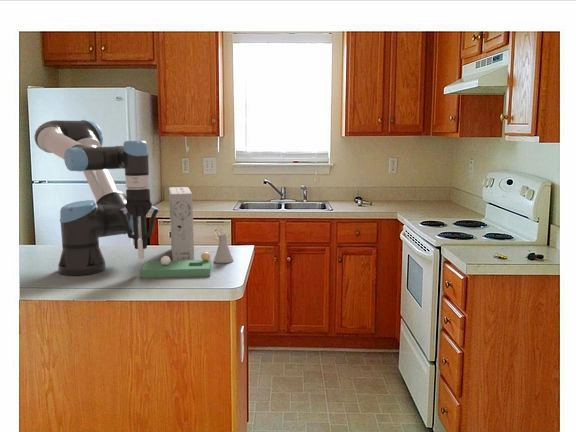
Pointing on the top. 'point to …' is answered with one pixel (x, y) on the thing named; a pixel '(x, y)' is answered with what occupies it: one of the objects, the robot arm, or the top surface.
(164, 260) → the ball
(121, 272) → the top surface
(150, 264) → the green
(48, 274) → the top surface
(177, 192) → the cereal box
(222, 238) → the flask
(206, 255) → the orange ball
